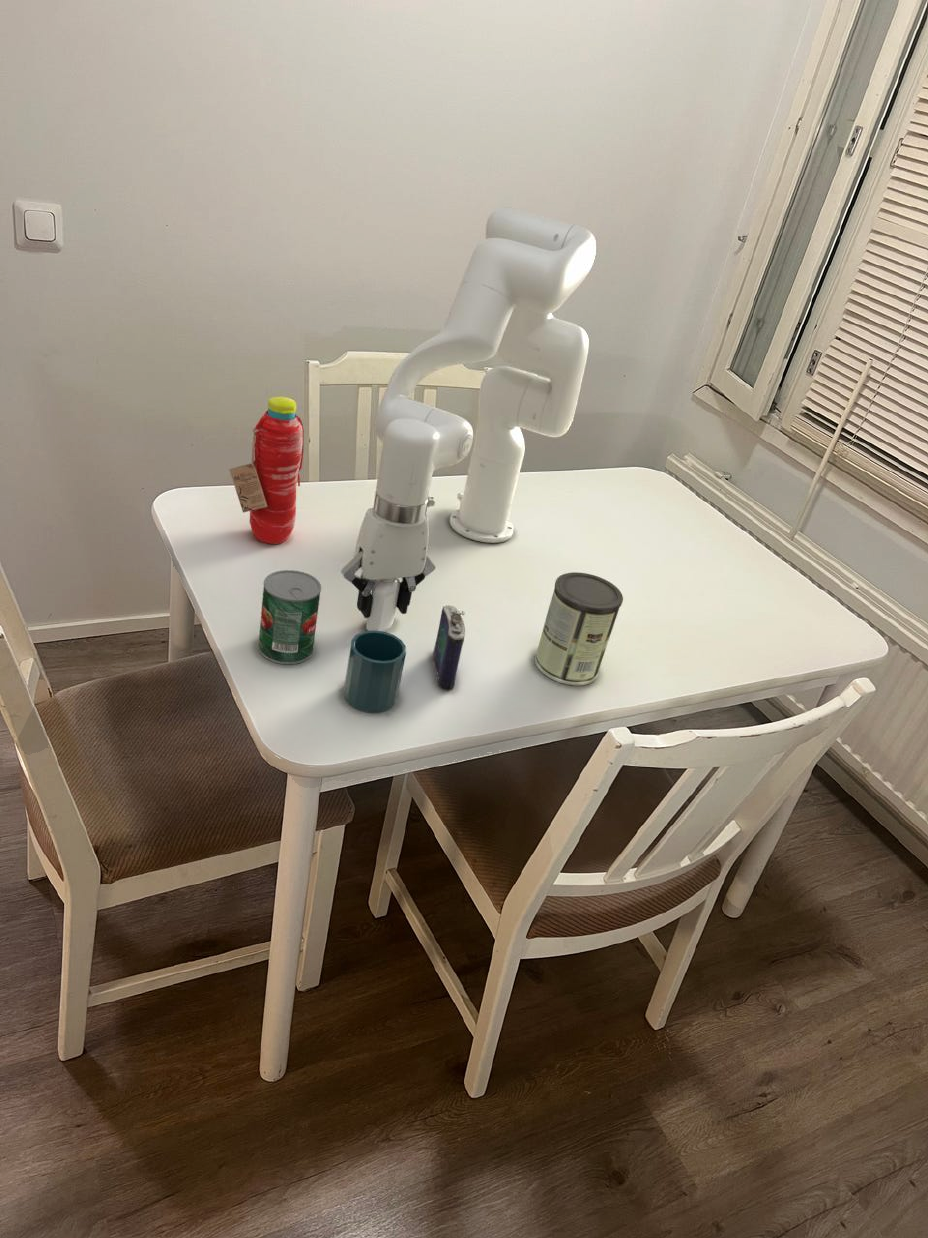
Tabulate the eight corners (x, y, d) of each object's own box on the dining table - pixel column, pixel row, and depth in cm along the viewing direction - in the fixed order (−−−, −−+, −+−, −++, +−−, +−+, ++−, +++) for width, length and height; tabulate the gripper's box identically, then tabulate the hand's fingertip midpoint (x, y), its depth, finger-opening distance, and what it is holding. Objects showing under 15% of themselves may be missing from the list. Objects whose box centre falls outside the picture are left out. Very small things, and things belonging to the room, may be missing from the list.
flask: (431, 652, 136) (443, 593, 130) (449, 653, 136) (463, 594, 130) (437, 690, 128) (451, 629, 122) (457, 691, 129) (472, 630, 123)
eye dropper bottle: (402, 629, 139) (414, 563, 133) (371, 636, 136) (382, 569, 130) (387, 614, 142) (398, 549, 136) (357, 621, 139) (367, 554, 132)
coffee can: (561, 639, 146) (583, 565, 138) (610, 672, 140) (636, 597, 133) (520, 658, 139) (541, 581, 131) (570, 694, 133) (595, 616, 126)
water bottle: (241, 554, 149) (250, 411, 136) (220, 532, 154) (228, 392, 140) (305, 544, 156) (320, 407, 143) (284, 523, 161) (296, 389, 147)
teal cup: (336, 683, 125) (343, 633, 120) (384, 676, 128) (393, 627, 124) (354, 716, 120) (363, 666, 115) (404, 708, 123) (414, 659, 119)
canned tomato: (250, 637, 130) (255, 572, 124) (301, 629, 134) (309, 566, 128) (268, 668, 125) (274, 603, 119) (321, 660, 129) (329, 596, 123)
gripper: (441, 492, 135) (422, 593, 144) (334, 496, 127) (321, 603, 136) (464, 515, 129) (441, 619, 139) (353, 521, 121) (338, 630, 131)
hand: (382, 610), depth 137 cm, fingers closed on eye dropper bottle, 5 cm apart
